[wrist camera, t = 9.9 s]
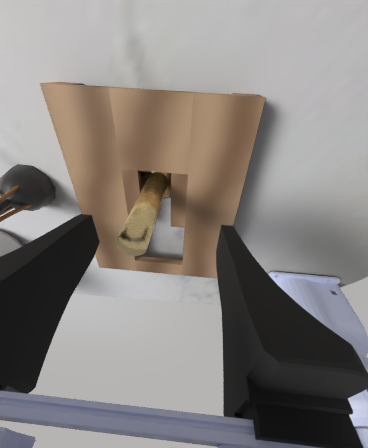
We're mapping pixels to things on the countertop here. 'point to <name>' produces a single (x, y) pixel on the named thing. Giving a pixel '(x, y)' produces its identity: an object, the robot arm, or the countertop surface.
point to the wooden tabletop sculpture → (24, 190)
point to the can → (8, 243)
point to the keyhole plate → (156, 162)
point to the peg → (144, 213)
